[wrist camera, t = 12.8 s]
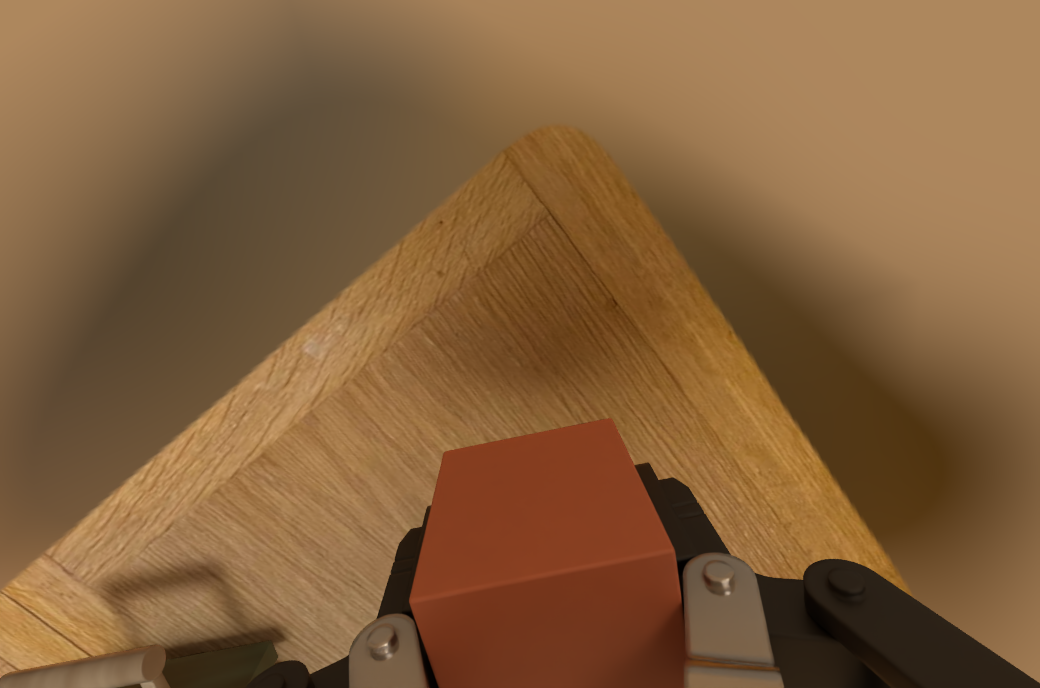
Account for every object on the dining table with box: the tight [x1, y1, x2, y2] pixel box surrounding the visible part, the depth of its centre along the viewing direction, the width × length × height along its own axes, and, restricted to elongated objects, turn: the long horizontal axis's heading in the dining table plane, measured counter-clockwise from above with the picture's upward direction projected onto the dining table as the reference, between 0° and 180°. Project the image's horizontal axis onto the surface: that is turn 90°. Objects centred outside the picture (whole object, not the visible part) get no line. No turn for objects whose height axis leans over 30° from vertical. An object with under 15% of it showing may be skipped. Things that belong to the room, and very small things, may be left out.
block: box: [409, 418, 686, 688], centre depth 11 cm, size 4×4×5 cm
